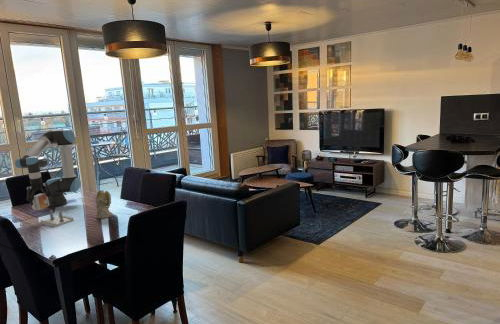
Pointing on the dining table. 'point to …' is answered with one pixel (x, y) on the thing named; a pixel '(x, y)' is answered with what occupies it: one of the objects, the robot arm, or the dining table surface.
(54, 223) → the pin tray
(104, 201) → the figurine
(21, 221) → the dining table surface
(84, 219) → the dining table surface
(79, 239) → the dining table surface
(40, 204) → the small box
